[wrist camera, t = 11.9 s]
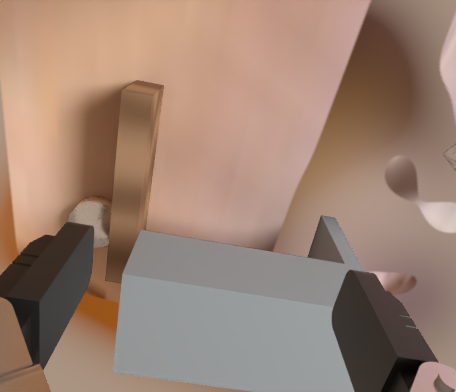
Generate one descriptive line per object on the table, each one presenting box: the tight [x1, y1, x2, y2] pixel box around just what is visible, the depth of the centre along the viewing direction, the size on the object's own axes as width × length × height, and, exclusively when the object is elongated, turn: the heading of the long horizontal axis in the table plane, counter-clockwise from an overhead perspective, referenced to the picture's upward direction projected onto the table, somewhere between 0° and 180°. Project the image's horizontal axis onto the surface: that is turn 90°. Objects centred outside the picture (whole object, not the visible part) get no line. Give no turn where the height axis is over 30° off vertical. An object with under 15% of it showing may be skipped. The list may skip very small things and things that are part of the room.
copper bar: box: [105, 80, 164, 283], centre depth 36 cm, size 18×2×6 cm, turn 169°
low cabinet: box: [113, 216, 365, 392], centre depth 35 cm, size 10×18×15 cm, turn 79°
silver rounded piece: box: [68, 196, 112, 248], centre depth 40 cm, size 5×5×2 cm
